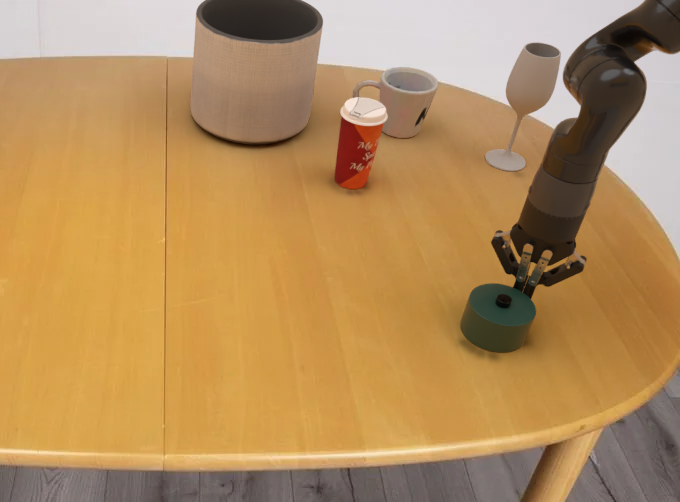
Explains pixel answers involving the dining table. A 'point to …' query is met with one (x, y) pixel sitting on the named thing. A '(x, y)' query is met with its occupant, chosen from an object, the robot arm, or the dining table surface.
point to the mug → (403, 99)
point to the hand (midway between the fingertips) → (519, 299)
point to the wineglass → (527, 95)
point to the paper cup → (358, 140)
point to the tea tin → (497, 317)
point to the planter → (254, 68)
